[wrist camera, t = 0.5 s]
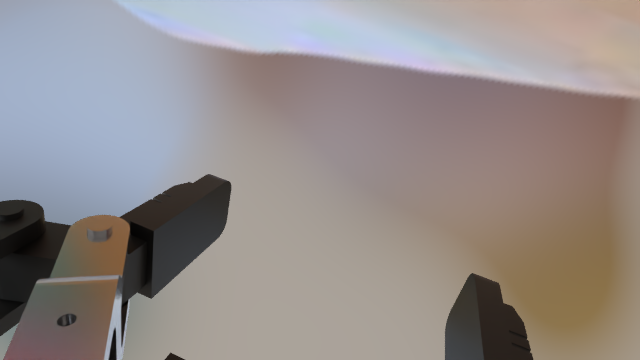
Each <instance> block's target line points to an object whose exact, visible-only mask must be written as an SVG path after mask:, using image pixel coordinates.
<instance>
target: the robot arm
mask: <svg viewBox="0 0 640 360" xmlns="http://www.w3.org/2000/svg"><path fill="white" fill-rule="evenodd" d="M230 193H231V183H230V182H229V181H227V180H224V179H221V178H218V177H216V176H213V175H210V174H208V175H206V176H204V177H202V178H201V179H199V180H198V181H196V182H194V183H190V182H188V183H184V184H180V185H176V186H173V187H172V188H170V189H168V190H167V191H164V192H163V193H162V194H159V195H158V196H156V197H154V198H153V200H149V201H147V202H145V203H143V204H142V205H140V206H139V207H136V208H135V209H133V210H132V211H130V212H128V213H126V214H124V215H123V216H121V217H116V216H111V215H96V216H90V217H87V218H83V219H81V220H79V221H77V222H75V223H74V224H73V225H72V226H71V225H65V224H58V223H52V222H46V221H45V218H44V210H43V208H42V207H41V206H40V205H39V204H37V203H35V202H31V201H26V200H9V201H2V202H0V336H1V335H3V334H4V333H5V332H7V331H8V330H9V329H11V328H12V327H13V326H15V325H16V324H17V323H19V324H18V326H17V328H16V331H15V333H14V335H13V338H12V340H11V343H10V345H9V347H8V350H7V352H6V354H5V356H4V359H3V360H123V352H124V344H125V337H126V329H127V322H128V313H129V305H130V298H131V297H132V296H133V295H134V294H136V293H137V292H138V293H140V294H142V295H144V296H146V297H149V298H153V297H154V296H155V295H156V294H157V293H158V292H159V291H160V290H161V289H163V288H164V287H165V286H166V285H167V284H168V283H169V282H170V281H171V280H172V279H174V277H176V276H177V275H178V274H179V273H180V272H181V271H182V270H183V269H185V268H186V266H188V265H189V264H190V263H191V262H192V261H193V260H194V259H195V258H197V256H199V255H200V254H201V253H202V252H203V251H204V250H205V249H206V248H208V247H209V246H210V245H211V244H212V243H213V242H214V241H215V240H216V239H217V238H218V237H219V236H220V235H221V233H222V232H223V230H224V228H225V225H226V221H227V215H228V207H229V201H230ZM530 350H531V349H530V345H529V341H528V340H527V334H526V330H525V326H524V322H523V321H522V319H521V318H520V317H519V315H518V314H517V312H516V311H515V309H514V308H513V307H512V306H510V305H507V304H504V303H503V299H502V294H501V289H500V285H499V283H497V282H495V281H492V280H489V279H487V278H484V277H481V276H479V275H476V274H473V273H472V274H470V276H469V277H468V278H467V280H466V282H465V284H464V286H463V288H462V290H461V292H460V294H459V296H458V298H457V299H456V302H455V303H454V305H453V307H452V309H451V311H450V313H449V316H448V319H447V323H446V329H445V360H533V357H532V354H531V353H530ZM165 360H184V359H182V358H180V357H178V356H176V355H174V354H172V353H170V354H169V355H168V356H167V358H166V359H165Z"/></svg>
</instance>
